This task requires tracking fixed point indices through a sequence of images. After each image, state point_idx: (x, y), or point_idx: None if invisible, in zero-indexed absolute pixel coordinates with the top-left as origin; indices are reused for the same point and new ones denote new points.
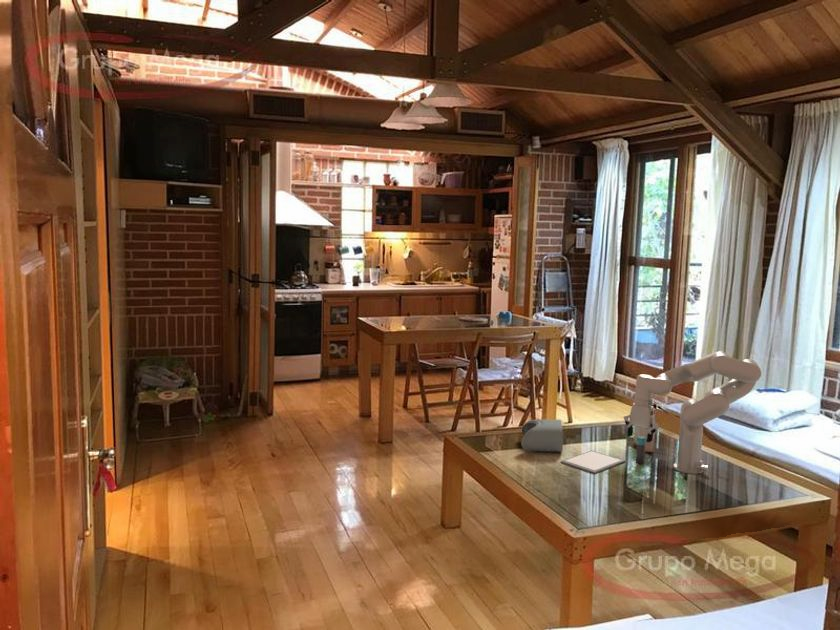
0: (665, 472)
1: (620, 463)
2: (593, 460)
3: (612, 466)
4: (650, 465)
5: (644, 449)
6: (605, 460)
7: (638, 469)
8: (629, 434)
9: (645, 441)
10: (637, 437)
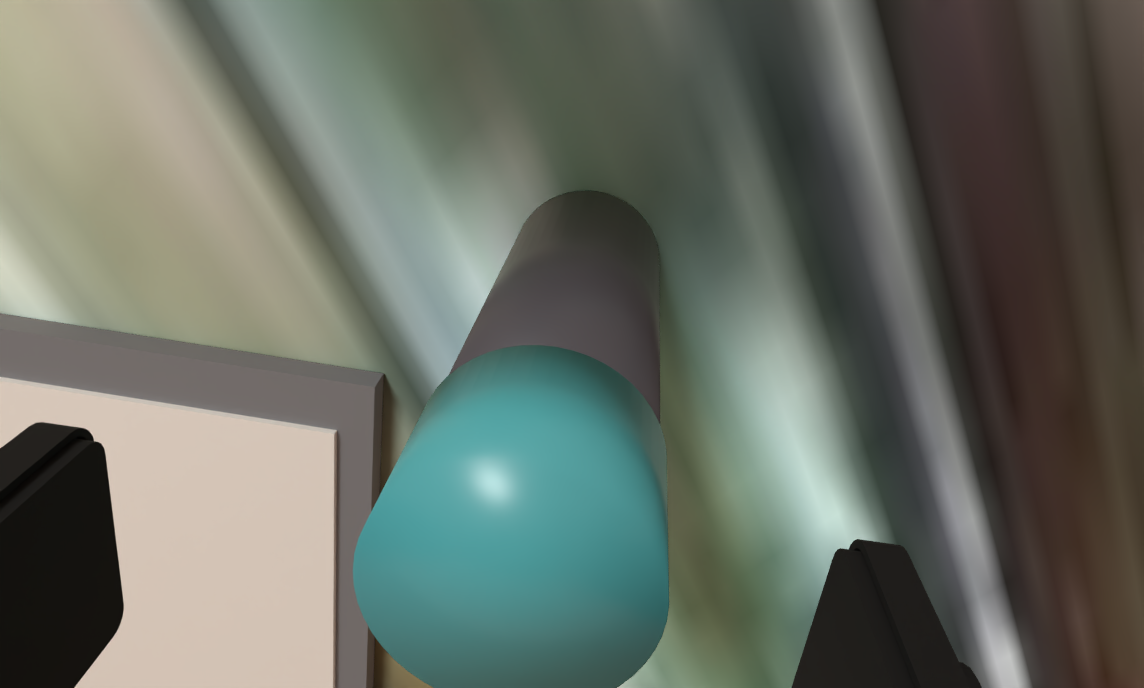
0: (1110, 400)
1: (376, 494)
2: (96, 673)
3: (372, 661)
4: (783, 236)
5: (659, 399)
6: (190, 587)
7: (688, 532)
8: (82, 664)
9: (665, 504)
10: (397, 642)
